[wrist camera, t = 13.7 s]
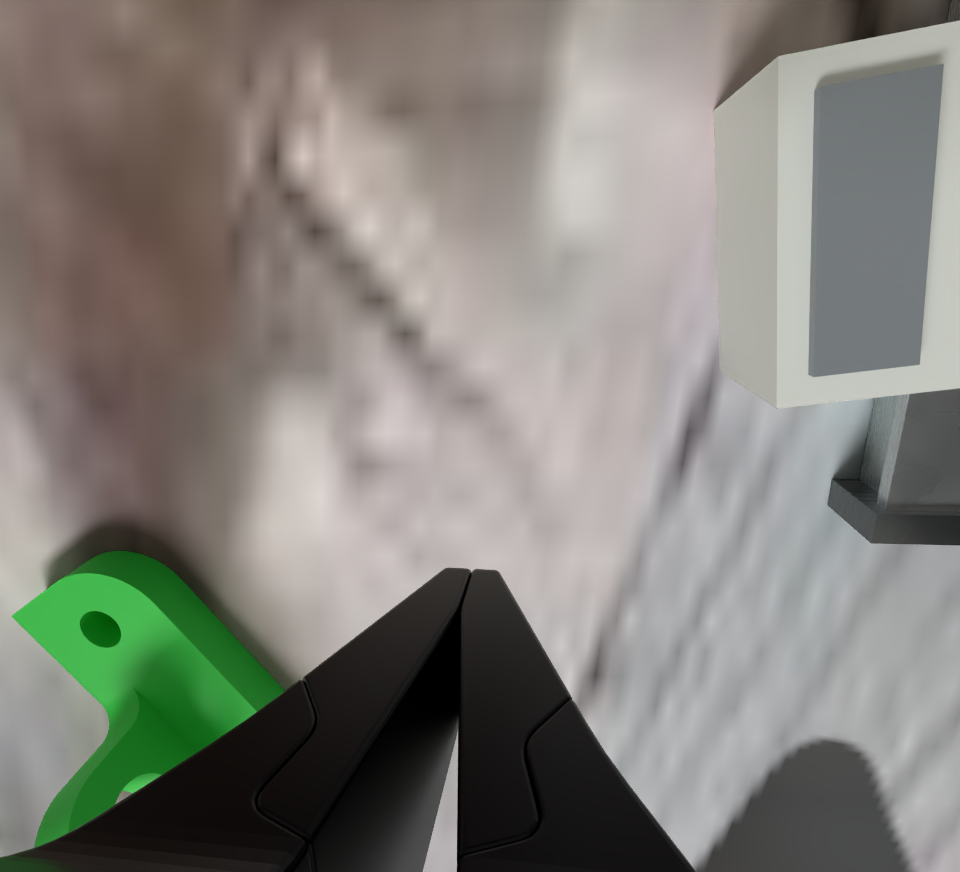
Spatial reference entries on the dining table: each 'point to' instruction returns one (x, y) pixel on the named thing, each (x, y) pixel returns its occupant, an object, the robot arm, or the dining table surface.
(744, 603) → the dining table surface
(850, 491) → the rail
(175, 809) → the robot arm
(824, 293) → the block
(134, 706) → the mechanical part
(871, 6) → the dining table surface
